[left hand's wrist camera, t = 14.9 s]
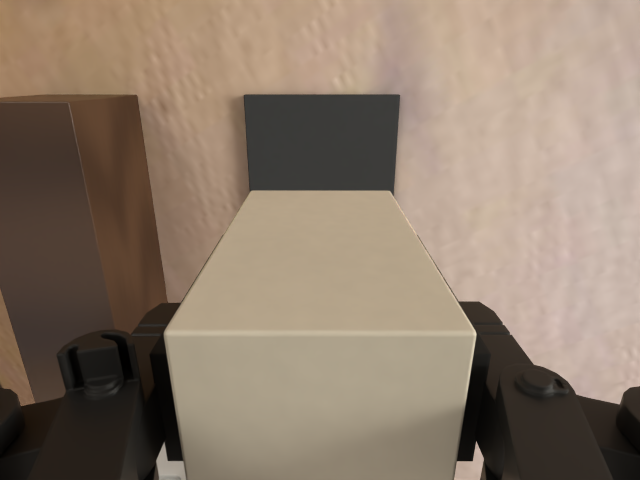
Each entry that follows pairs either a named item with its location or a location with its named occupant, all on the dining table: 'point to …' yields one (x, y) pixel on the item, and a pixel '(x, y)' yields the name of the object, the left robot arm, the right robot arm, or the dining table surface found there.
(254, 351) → the beige block
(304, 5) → the dining table surface
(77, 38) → the dining table surface
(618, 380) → the dining table surface
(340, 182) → the mat
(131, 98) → the walnut box
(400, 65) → the dining table surface
